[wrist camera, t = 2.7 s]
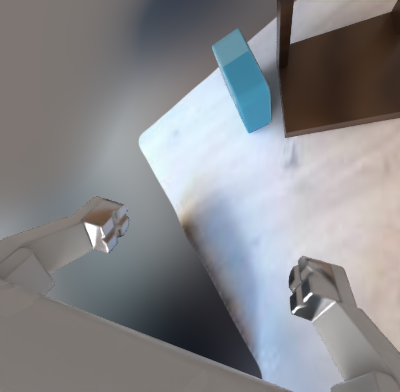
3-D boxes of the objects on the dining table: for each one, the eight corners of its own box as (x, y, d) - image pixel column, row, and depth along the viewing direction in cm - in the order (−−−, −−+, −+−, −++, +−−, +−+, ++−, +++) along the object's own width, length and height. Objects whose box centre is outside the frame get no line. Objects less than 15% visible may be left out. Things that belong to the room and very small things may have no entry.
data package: (226, 87, 42) (209, 41, 31) (247, 74, 41) (236, 21, 29) (249, 136, 39) (239, 105, 28) (272, 124, 38) (271, 87, 27)
